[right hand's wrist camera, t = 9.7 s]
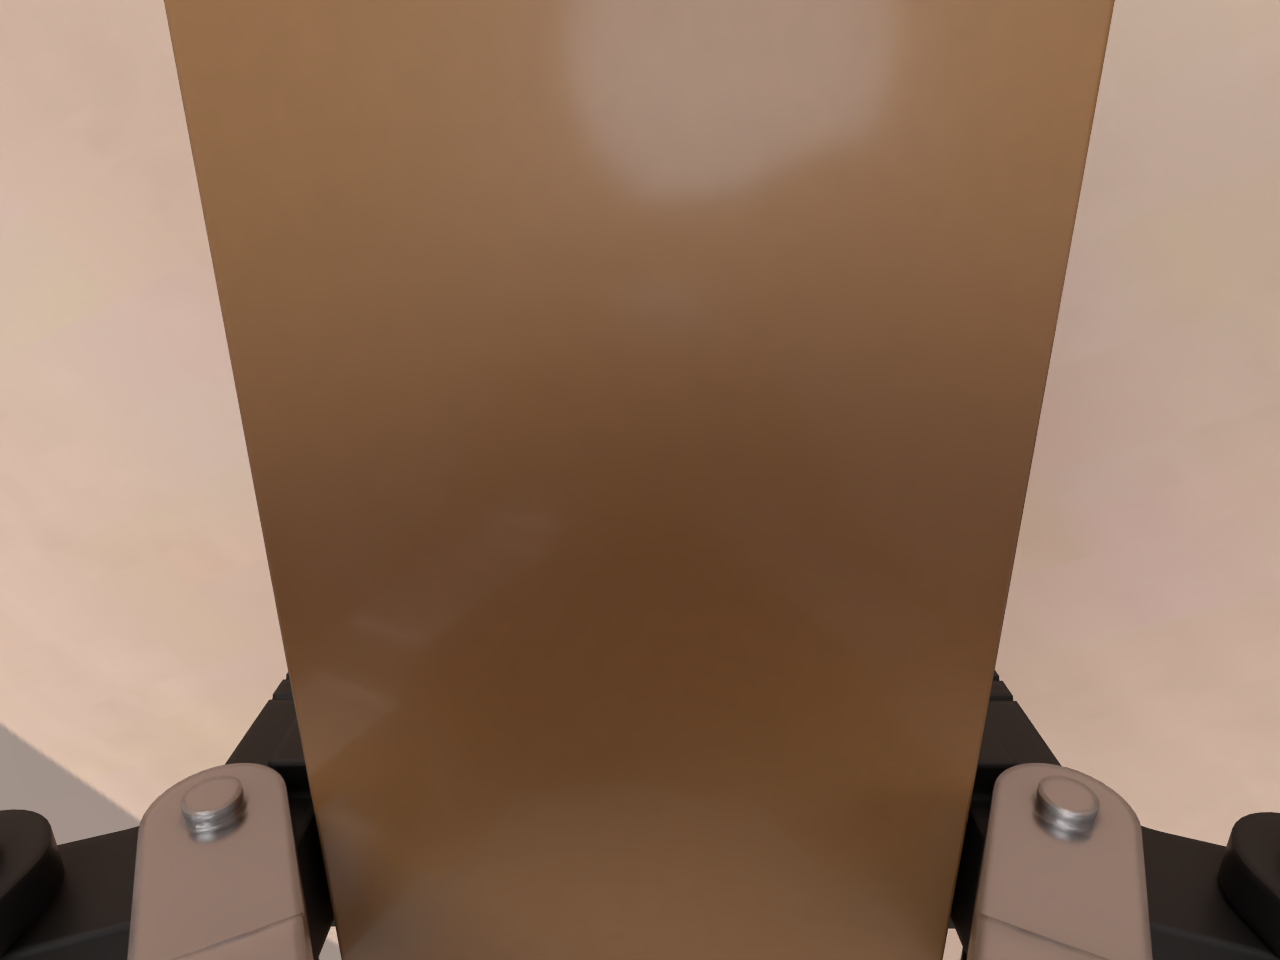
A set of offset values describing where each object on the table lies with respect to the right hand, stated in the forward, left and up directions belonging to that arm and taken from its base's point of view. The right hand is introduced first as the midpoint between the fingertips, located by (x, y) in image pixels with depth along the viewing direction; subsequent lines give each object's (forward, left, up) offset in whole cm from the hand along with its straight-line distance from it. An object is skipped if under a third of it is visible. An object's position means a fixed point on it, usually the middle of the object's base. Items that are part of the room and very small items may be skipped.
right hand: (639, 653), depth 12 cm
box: (+8, -4, -7) cm, 11 cm away
